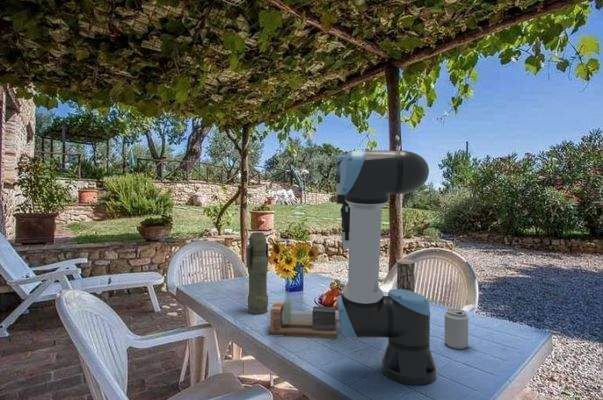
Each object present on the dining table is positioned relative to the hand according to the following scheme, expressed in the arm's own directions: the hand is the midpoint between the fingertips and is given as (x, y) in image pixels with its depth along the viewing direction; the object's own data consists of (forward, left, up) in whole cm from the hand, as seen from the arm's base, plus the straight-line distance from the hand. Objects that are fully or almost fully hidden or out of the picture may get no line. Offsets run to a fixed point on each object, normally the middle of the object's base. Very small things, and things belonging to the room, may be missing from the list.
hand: (345, 246), depth 143 cm
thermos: (+9, +39, -31) cm, 50 cm away
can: (-19, -37, -31) cm, 52 cm away
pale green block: (-11, +19, -28) cm, 36 cm away
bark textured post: (+2, -24, -31) cm, 40 cm away
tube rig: (-11, +16, -31) cm, 37 cm away
